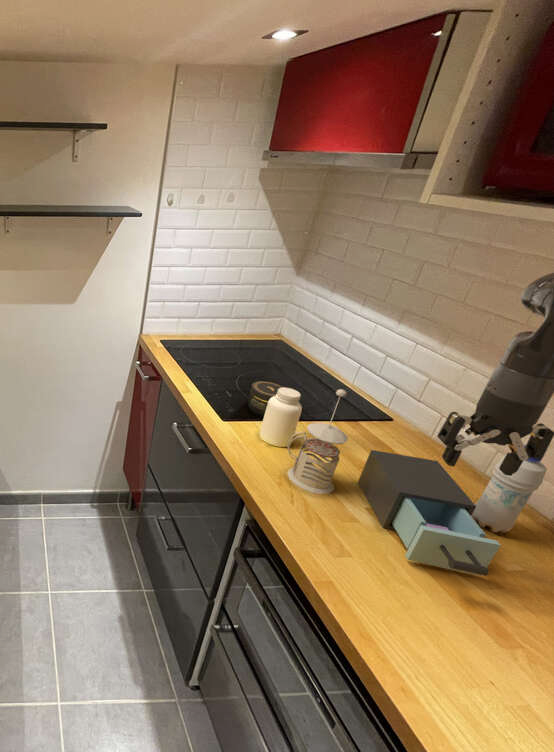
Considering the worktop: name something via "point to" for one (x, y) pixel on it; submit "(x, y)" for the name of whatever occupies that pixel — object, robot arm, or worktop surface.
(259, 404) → the jar
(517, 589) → the worktop surface
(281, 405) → the pill bottle
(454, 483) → the drawer cabinet casing
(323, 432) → the french press
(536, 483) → the bottle
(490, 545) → the light blue drawer
